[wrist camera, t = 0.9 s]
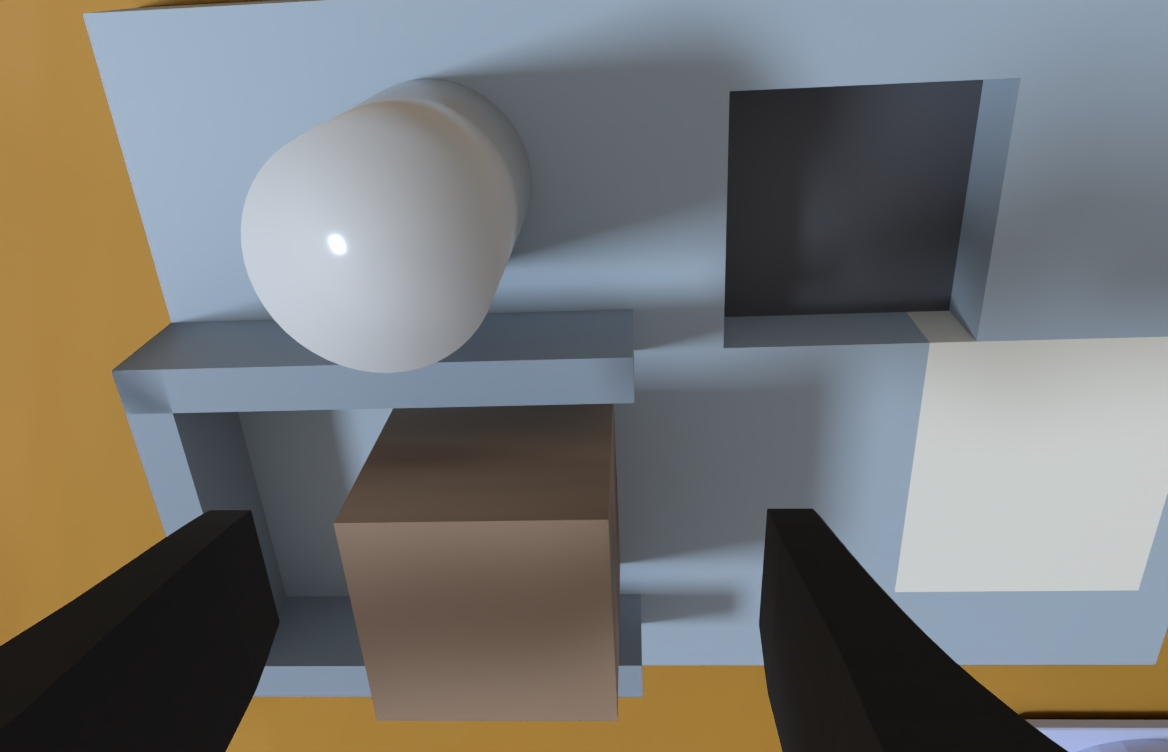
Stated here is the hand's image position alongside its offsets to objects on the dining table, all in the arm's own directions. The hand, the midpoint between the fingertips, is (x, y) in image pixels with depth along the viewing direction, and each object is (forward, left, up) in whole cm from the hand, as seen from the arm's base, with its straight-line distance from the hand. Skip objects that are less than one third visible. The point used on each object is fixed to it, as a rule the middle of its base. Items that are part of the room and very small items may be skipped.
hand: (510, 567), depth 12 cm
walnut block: (-4, +1, -8) cm, 9 cm away
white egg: (+4, +2, -8) cm, 9 cm away
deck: (-1, -3, -10) cm, 11 cm away
